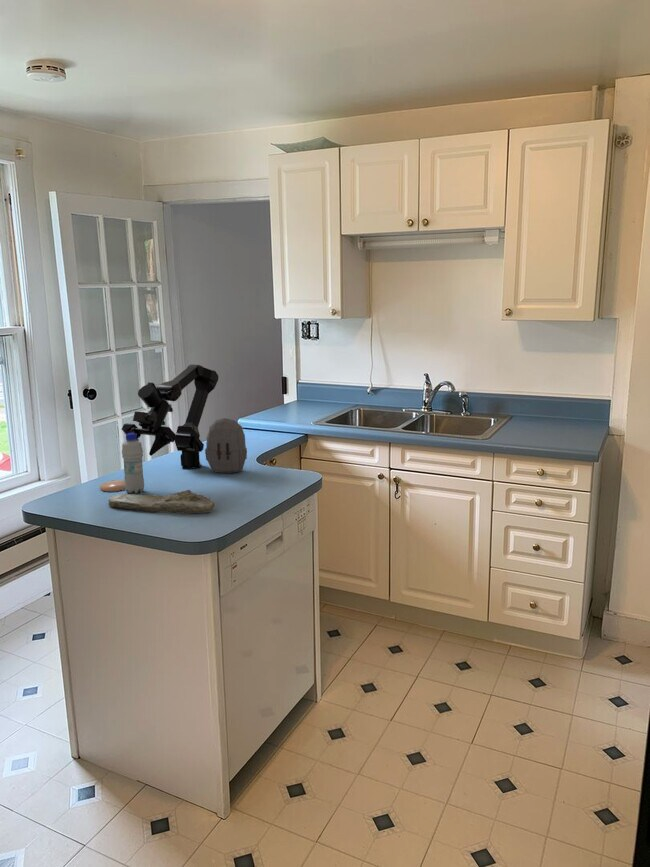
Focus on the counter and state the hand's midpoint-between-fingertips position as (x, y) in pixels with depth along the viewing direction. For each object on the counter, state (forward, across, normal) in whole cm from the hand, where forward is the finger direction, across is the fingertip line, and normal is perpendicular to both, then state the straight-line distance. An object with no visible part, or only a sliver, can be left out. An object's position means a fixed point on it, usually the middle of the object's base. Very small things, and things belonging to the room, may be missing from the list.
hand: (138, 453), depth 224 cm
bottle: (+11, 0, +6) cm, 13 cm away
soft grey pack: (-11, +17, +28) cm, 34 cm away
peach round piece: (+10, -10, +7) cm, 16 cm away
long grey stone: (+19, +18, -1) cm, 26 cm away
